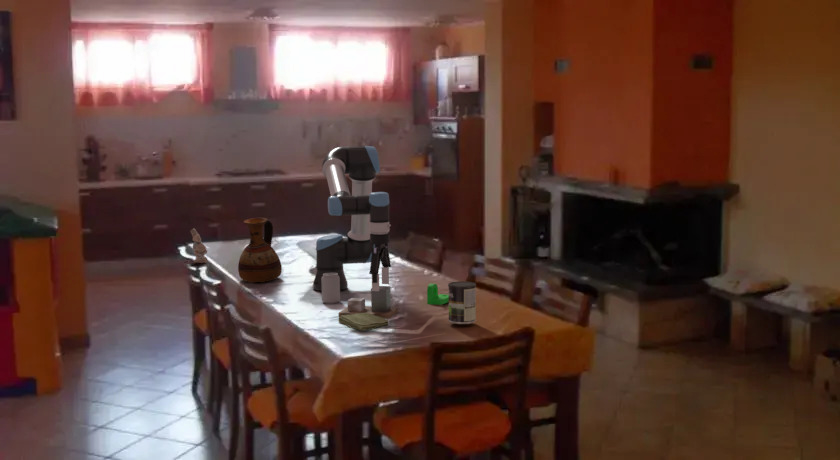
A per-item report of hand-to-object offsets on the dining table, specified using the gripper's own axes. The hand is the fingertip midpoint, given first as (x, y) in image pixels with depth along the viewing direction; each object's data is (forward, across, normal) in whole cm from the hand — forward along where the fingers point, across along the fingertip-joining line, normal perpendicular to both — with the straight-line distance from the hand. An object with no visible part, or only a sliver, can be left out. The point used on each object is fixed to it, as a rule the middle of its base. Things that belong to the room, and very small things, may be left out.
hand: (380, 287), depth 361 cm
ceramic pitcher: (+12, +59, +76) cm, 97 cm away
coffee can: (+10, -7, -33) cm, 35 cm away
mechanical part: (+11, +28, -18) cm, 35 cm away
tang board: (+10, -1, +5) cm, 12 cm away
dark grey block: (+9, 0, 0) cm, 9 cm away
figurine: (+14, +94, +124) cm, 156 cm away
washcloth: (+11, -18, +2) cm, 21 cm away
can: (+11, +18, +27) cm, 34 cm away
